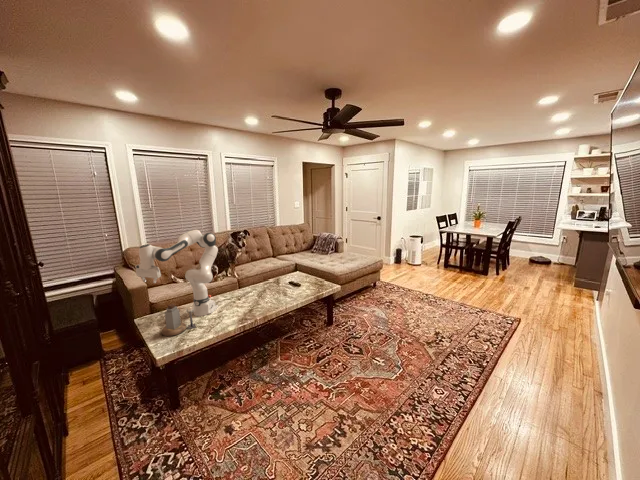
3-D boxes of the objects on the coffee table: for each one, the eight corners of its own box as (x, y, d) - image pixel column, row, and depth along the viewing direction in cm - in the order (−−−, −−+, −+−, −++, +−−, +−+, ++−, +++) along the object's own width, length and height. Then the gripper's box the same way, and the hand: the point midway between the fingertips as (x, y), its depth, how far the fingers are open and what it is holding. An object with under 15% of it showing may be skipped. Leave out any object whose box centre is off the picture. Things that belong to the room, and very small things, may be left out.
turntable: (173, 324, 208) (172, 321, 207) (190, 326, 204) (190, 322, 204) (157, 334, 192) (156, 331, 192) (175, 336, 189) (175, 333, 188)
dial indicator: (188, 326, 205) (186, 306, 202) (195, 324, 208) (193, 304, 205) (188, 329, 201) (186, 308, 198) (195, 327, 203) (193, 307, 200)
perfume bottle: (181, 325, 200) (178, 303, 197) (174, 329, 194) (171, 307, 190) (173, 324, 202) (171, 302, 198) (166, 328, 195) (163, 306, 192)
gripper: (161, 265, 202) (164, 282, 204) (140, 263, 206) (142, 280, 209) (155, 267, 196) (157, 284, 198) (133, 265, 200) (135, 282, 203)
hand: (149, 282), depth 204 cm, fingers open, 8 cm apart
